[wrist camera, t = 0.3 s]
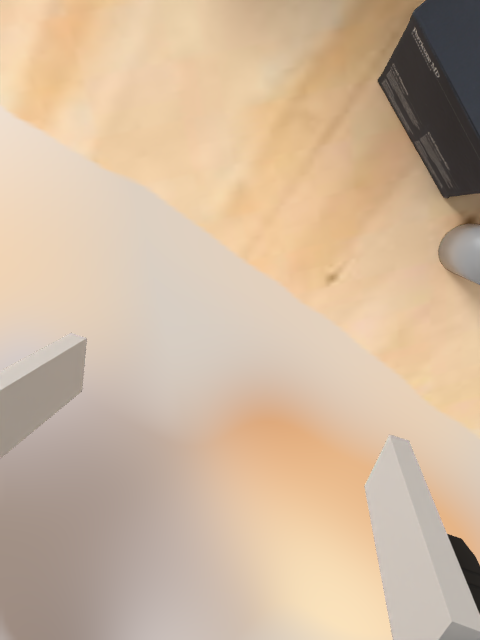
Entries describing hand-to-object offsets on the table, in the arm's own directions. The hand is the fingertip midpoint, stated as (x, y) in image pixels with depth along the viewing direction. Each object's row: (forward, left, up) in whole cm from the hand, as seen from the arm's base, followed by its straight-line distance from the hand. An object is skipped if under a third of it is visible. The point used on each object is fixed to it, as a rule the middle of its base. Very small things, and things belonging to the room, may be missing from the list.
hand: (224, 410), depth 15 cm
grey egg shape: (-4, +19, -27) cm, 33 cm away
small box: (-16, +15, -28) cm, 35 cm away
